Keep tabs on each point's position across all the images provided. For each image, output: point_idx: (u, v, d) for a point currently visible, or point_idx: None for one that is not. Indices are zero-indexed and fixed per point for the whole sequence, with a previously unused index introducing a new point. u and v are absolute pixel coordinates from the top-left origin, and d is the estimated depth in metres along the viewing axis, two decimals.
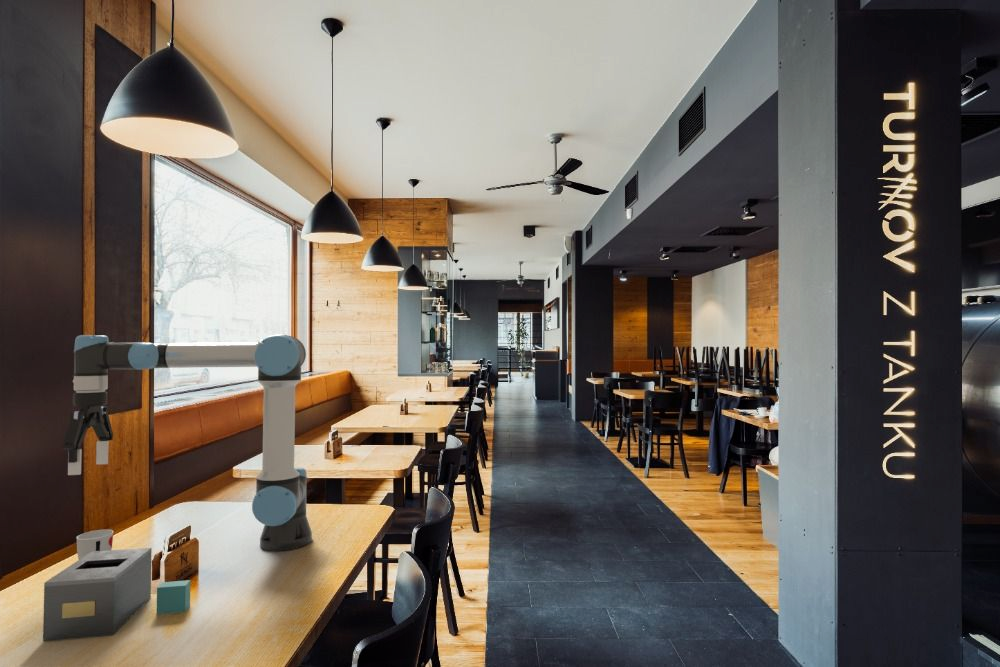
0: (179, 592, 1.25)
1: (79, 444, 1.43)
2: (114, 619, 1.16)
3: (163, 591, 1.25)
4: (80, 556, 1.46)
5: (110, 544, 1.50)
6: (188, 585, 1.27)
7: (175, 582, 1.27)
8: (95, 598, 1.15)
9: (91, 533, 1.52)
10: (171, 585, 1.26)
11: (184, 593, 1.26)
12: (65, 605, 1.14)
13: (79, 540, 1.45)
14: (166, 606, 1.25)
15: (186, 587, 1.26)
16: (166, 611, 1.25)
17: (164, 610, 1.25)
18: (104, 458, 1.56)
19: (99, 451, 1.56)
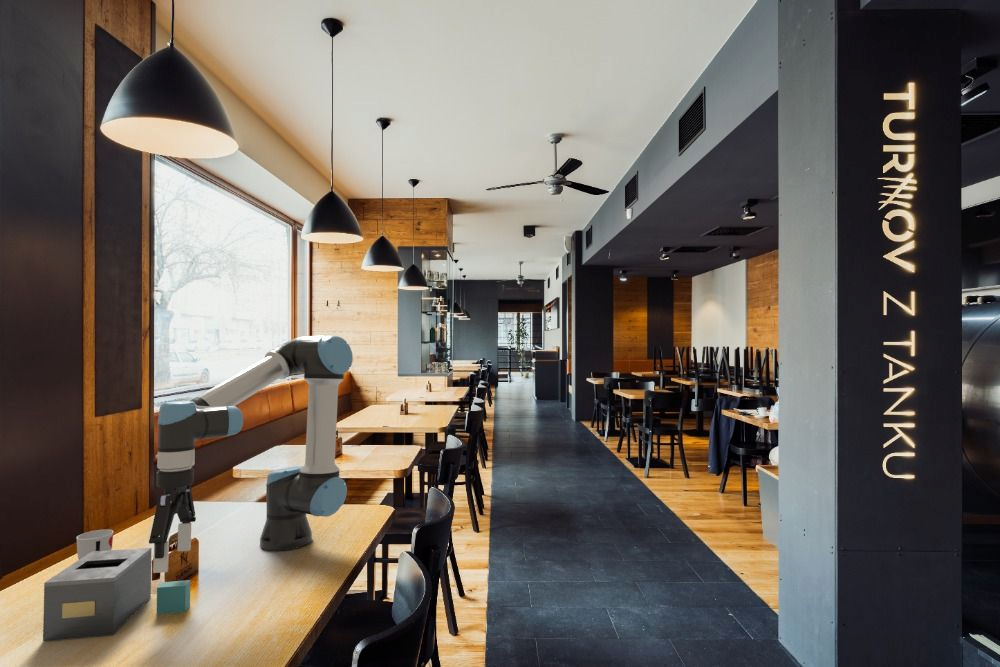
0: (179, 592, 1.25)
1: (167, 535, 1.20)
2: (114, 619, 1.16)
3: (163, 591, 1.25)
4: (80, 556, 1.46)
5: (110, 544, 1.50)
6: (188, 585, 1.28)
7: (175, 582, 1.27)
8: (95, 598, 1.15)
9: (91, 533, 1.52)
10: (171, 585, 1.26)
11: (184, 593, 1.26)
12: (65, 605, 1.14)
13: (79, 540, 1.45)
14: (166, 606, 1.25)
15: (186, 587, 1.26)
16: (166, 611, 1.25)
17: (164, 610, 1.25)
18: (186, 544, 1.33)
19: (181, 535, 1.33)
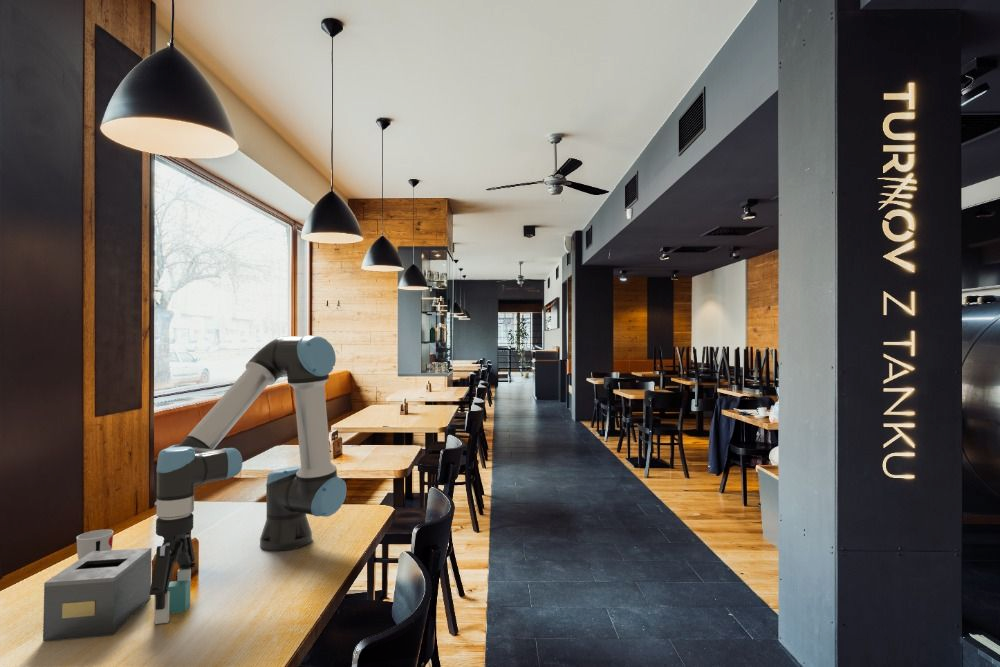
0: (179, 592, 1.25)
1: (167, 586, 1.20)
2: (114, 619, 1.16)
3: None
4: (80, 556, 1.46)
5: (110, 544, 1.50)
6: (188, 585, 1.27)
7: (175, 582, 1.27)
8: (95, 598, 1.15)
9: (91, 533, 1.52)
10: (171, 585, 1.26)
11: (184, 593, 1.26)
12: (65, 605, 1.14)
13: (79, 540, 1.45)
14: None
15: (186, 587, 1.26)
16: None
17: None
18: None
19: None
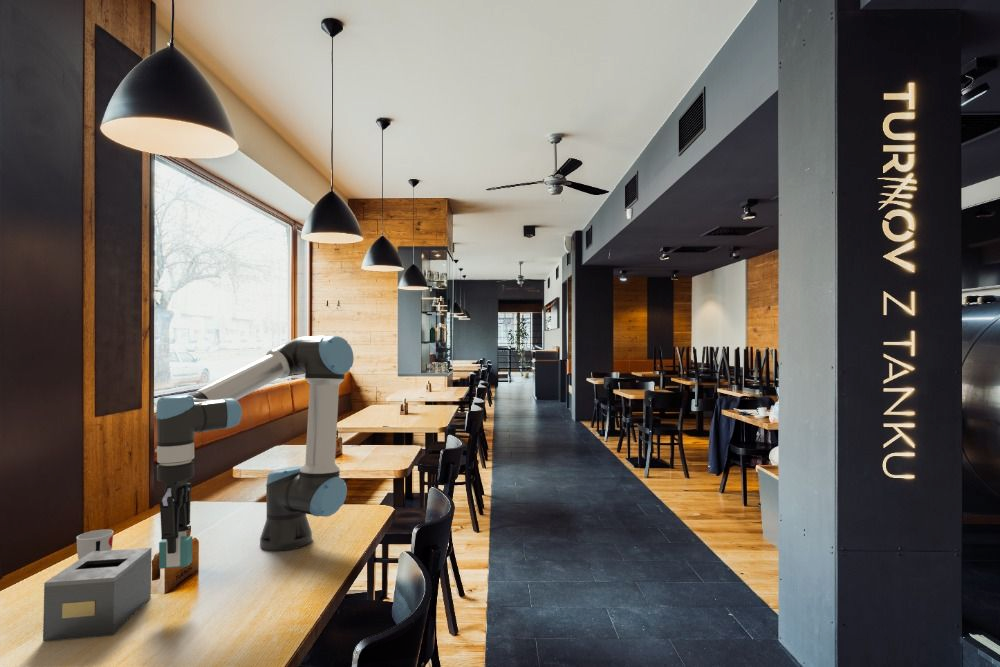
0: (182, 547, 1.26)
1: (177, 531, 1.25)
2: (114, 619, 1.16)
3: (165, 546, 1.26)
4: (80, 556, 1.46)
5: (110, 544, 1.50)
6: (190, 540, 1.28)
7: None
8: (95, 598, 1.15)
9: (91, 533, 1.52)
10: None
11: (186, 548, 1.26)
12: (65, 605, 1.14)
13: (79, 540, 1.45)
14: None
15: (188, 542, 1.27)
16: None
17: None
18: None
19: None
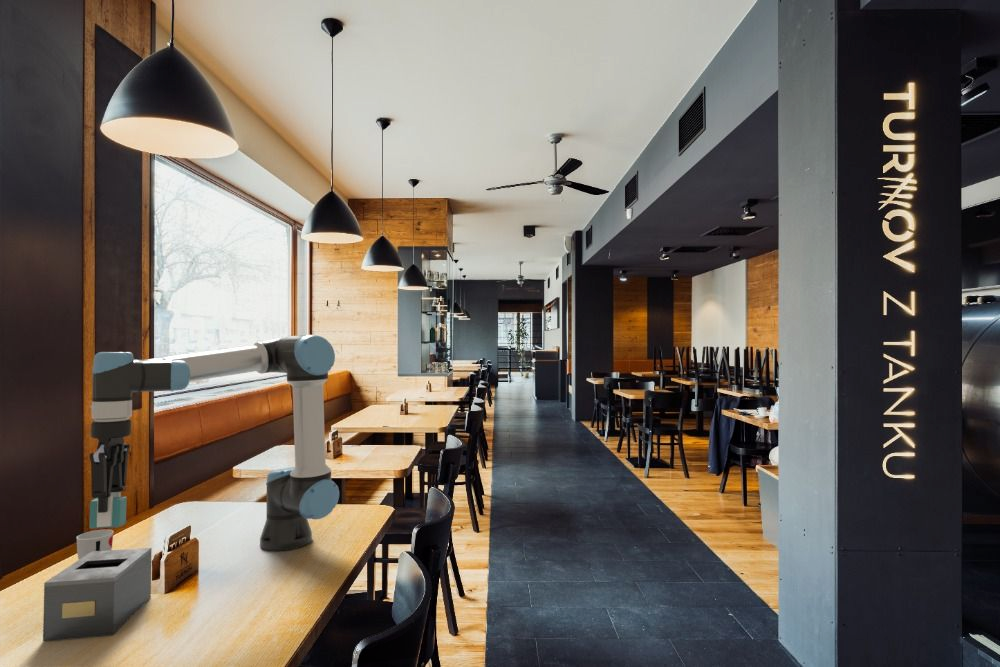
0: (114, 506, 1.23)
1: (109, 490, 1.21)
2: (114, 619, 1.16)
3: (96, 505, 1.22)
4: (80, 556, 1.46)
5: (110, 544, 1.50)
6: (124, 501, 1.25)
7: None
8: (95, 598, 1.15)
9: (91, 533, 1.52)
10: None
11: (118, 508, 1.23)
12: (65, 605, 1.14)
13: (79, 540, 1.45)
14: None
15: (122, 502, 1.24)
16: None
17: None
18: None
19: None
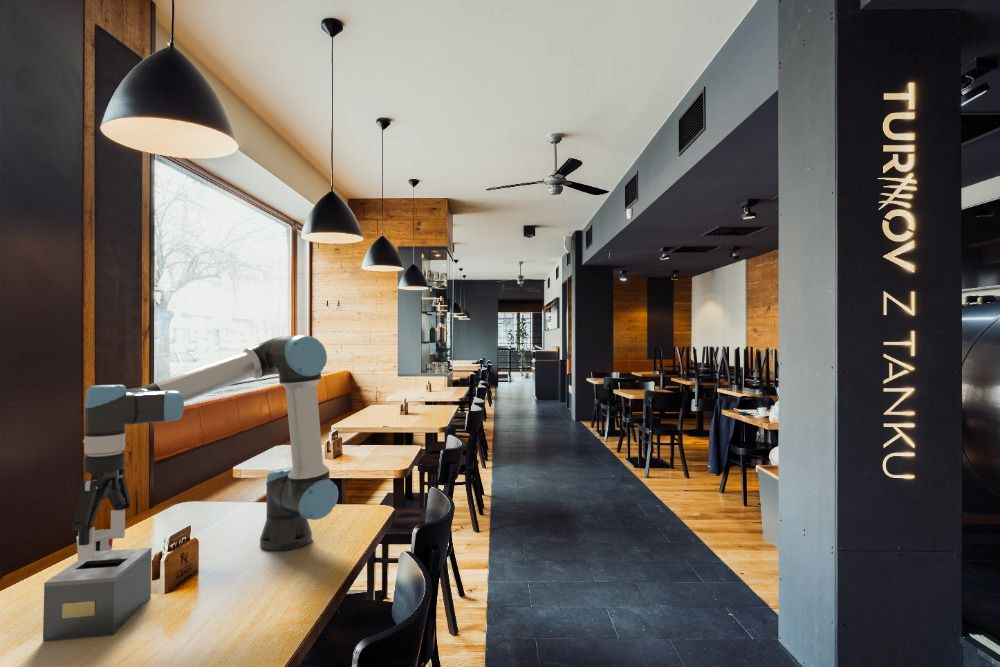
0: None
1: (92, 522, 1.17)
2: (114, 619, 1.16)
3: None
4: None
5: (110, 544, 1.50)
6: None
7: None
8: (95, 598, 1.15)
9: None
10: None
11: None
12: (65, 605, 1.14)
13: None
14: None
15: None
16: None
17: None
18: (120, 531, 1.30)
19: (114, 522, 1.30)
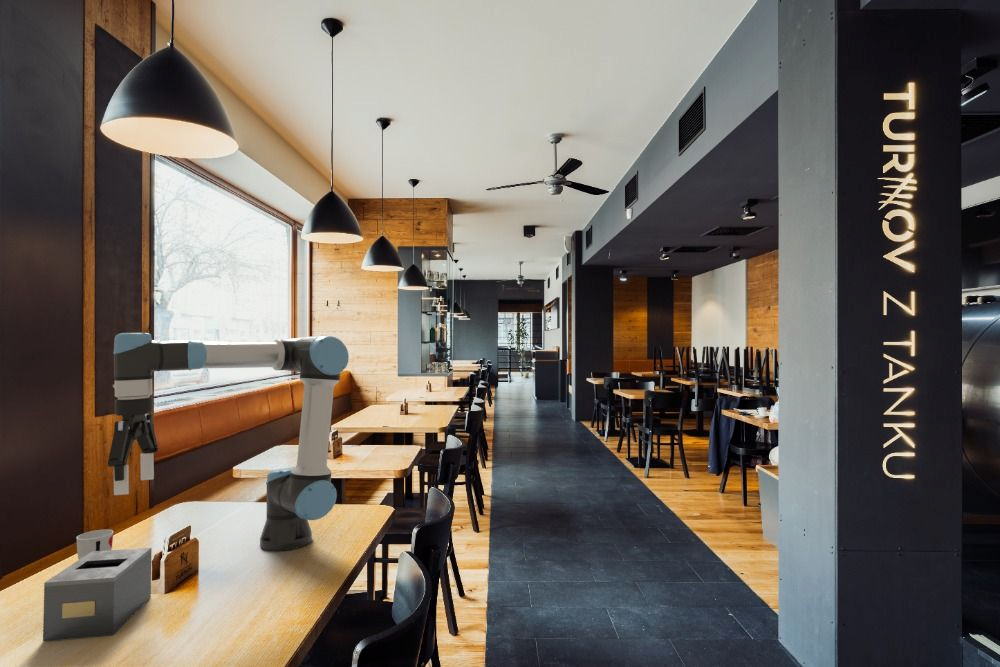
0: None
1: (126, 459, 1.23)
2: (114, 619, 1.16)
3: None
4: (80, 556, 1.46)
5: (110, 544, 1.50)
6: None
7: None
8: (95, 598, 1.15)
9: (91, 533, 1.52)
10: None
11: None
12: (65, 605, 1.14)
13: (79, 540, 1.45)
14: None
15: None
16: None
17: None
18: (149, 473, 1.36)
19: (143, 464, 1.36)
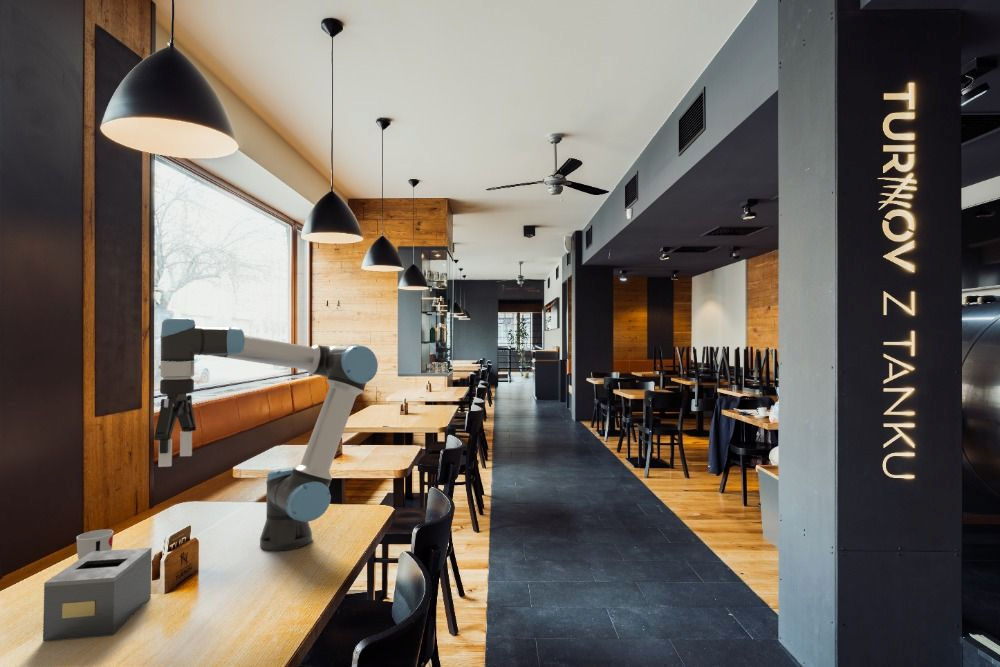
0: None
1: (170, 434, 1.34)
2: (114, 619, 1.16)
3: None
4: (80, 556, 1.46)
5: (110, 544, 1.50)
6: None
7: None
8: (95, 598, 1.15)
9: (91, 533, 1.52)
10: None
11: None
12: (65, 605, 1.14)
13: (79, 540, 1.45)
14: None
15: None
16: None
17: None
18: (188, 450, 1.47)
19: (183, 442, 1.47)
